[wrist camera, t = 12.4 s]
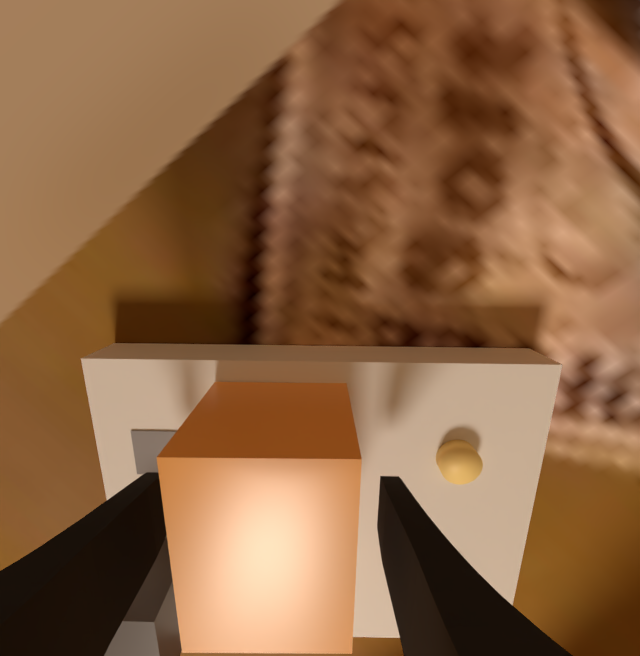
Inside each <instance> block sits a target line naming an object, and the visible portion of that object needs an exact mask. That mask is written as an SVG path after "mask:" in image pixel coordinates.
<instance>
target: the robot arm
mask: <svg viewBox="0 0 640 656" xmlns="http://www.w3.org/2000/svg"><path fill="white" fill-rule="evenodd" d="M377 530H378V538H379V545H380V552H381V559H382V564H383V569H384V573H385V577H386V581H387V586H388V590H389V594H390V598H391V602H392V606H393V611H394V615H395V619H396V623H397V627H398V631H399V636H400V640H401V644H402V648H403V653H404V656H572V655H571V654H570V653H568V652H567V651H566V650H565V649H563V648H562V647H561V646H559V645H558V644H557V643H556V642H555V641H553V640H552V639H551V638H550V637H548V636H547V635H546V634H545V633H544V632H542V631H541V630H540V629H539V628H538V627H537V626H535V625H534V624H533V623H532V622H531V621H530V620H529V619H527V618H526V617H525V616H524V615H523V614H522V613H520V612H519V611H518V610H517V609H516V608H515V607H514V606H512V605H511V604H510V603H509V602H508V601H507V600H506V599H505V598H504V597H502V596H501V595H500V594H499V593H498V592H497V591H496V590H495V589H494V588H493V587H492V586H491V585H490V584H489V583H488V582H487V581H486V580H485V579H484V578H483V577H482V576H481V575H480V574H479V573H478V572H477V571H476V570H475V569H474V568H473V567H472V566H471V565H470V564H469V563H468V562H467V560H466V559H465V558H464V557H463V556H462V555H461V554H460V553H459V552H458V551H457V549H456V548H455V547H454V546H453V545H452V544H451V543H450V541H449V540H448V539H447V538H446V537H445V536H444V534H443V533H442V532H441V531H440V530H439V528H438V527H437V526H436V525H435V523H434V522H433V521H432V520H431V518H430V517H429V516H428V515H427V513H426V512H425V511H424V510H423V508H422V507H421V506H420V504H419V503H418V502H417V500H416V499H415V497H414V496H413V495H412V493H411V492H410V491H409V489H408V488H407V486H406V485H405V483H404V482H403V481H402V479H401V478H400V477H399V476H380V489H379V504H378V519H377ZM166 535H167V534H166V526H165V519H164V511H163V503H162V496H161V488H160V480H159V473H158V472H146V473H145V474H143V475H142V476H140V477H139V478H137V479H136V480H135V481H133V482H132V483H130V484H129V485H128V486H126V487H125V488H123V489H122V490H121V491H119V492H118V493H117V494H115V495H114V496H112V497H111V498H110V499H108V500H107V501H106V502H104V503H103V504H101V505H100V506H99V507H97V508H96V509H94V510H93V511H92V512H90V513H89V514H87V515H86V516H85V517H83V518H82V519H80V520H79V521H78V522H76V523H75V524H73V525H72V526H70V527H69V528H67V529H66V530H64V531H63V532H61V533H60V534H58V535H57V536H55V537H54V538H52V539H51V540H49V541H48V542H46V543H45V544H43V545H42V546H40V547H39V548H37V549H36V550H34V551H33V552H31V553H29V554H28V555H26V556H25V557H23V558H21V559H20V560H18V561H17V562H15V563H13V564H11V565H10V566H8V567H6V568H5V569H3V570H1V571H0V656H104V655H105V653H106V651H107V649H108V647H109V645H110V643H111V641H112V639H113V638H114V636H115V634H116V632H117V630H118V628H119V627H120V625H121V623H122V621H123V619H124V617H125V616H126V614H127V612H128V610H129V608H130V606H131V605H132V603H133V601H134V599H135V597H136V595H137V594H138V592H139V590H140V588H141V586H142V585H143V583H144V581H145V579H146V577H147V575H148V573H149V571H150V570H151V568H152V566H153V564H154V562H155V560H156V558H157V556H158V554H159V552H160V549H161V547H162V545H163V542H164V540H165V537H166Z"/></svg>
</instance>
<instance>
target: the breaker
mask: <svg viewBox="0 0 640 656" xmlns="http://www.w3.org/2000/svg"><path fill="white" fill-rule="evenodd" d="M181 651H182V648H181V641H180V633H179V626H178V618H177V610H176V603H175V595H174V587H173V580H172V572H171V564H170V557H169V549H168V541H167V538H165V540H164V542H163V545H162V547H161V549H160V552H159V554H158V556H157V558H156V560H155V562H154V564H153V566H152V568H151V570H150V571H149V573H148V575H147V577H146V579H145V581H144V583H143V585H142V586H141V588H140V590H139V592H138V594H137V595H136V597H135V599H134V601H133V603H132V605H131V606H130V608H129V610H128V612H127V614H126V616H125V617H124V619H123V621H122V623H121V625H120V627H119V628H118V630H117V632H116V634H115V636H114V638H113V639H112V641H111V643H110V645H109V647H108V649H107V651H106V653H105V655H104V656H180V653H181Z"/></svg>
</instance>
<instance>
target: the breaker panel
mask: <svg viewBox="0 0 640 656" xmlns="http://www.w3.org/2000/svg"><path fill="white" fill-rule="evenodd" d="M81 362H82V367H83V372H84V378H85V383H86V389H87V394H88V400H89V405H90V411H91V416H92V421H93V427H94V432H95V438H96V443H97V449H98V454H99V460H100V465H101V471H102V476H103V481H104V487H105V492H106V498H107V500H108V499H110V498H111V497H112V496H114V495H115V494H117V493H118V492H119V491H121V490H122V489H123V488H125V487H126V486H128V485H129V484H130V483H132V482H133V481H135V480H136V479H137V478H139V477H140V476H142V475H143V474H145V473H146V472H158V465H157V456H158V455H159V454H160V452H161V451H162V450H163V448H164V447H165V446H166V444H167V443H168V442H169V441H170V439H171V438H172V437H173V435H174V434H175V433H176V432H177V430H178V429H179V428H180V426H181V425H182V424H183V422H184V421H185V420H186V419H187V417H188V416H189V415H190V413H191V412H192V411H193V410H194V408H195V407H196V406H197V404H198V403H199V402H200V400H201V399H202V398H203V397H204V395H205V394H206V393H207V391H208V390H209V389H210V387H211V386H212V385H213V384H214V382H278V383H347V388H348V393H349V398H350V403H351V408H352V413H353V418H354V423H355V428H356V433H357V438H358V443H359V448H360V453H361V458H362V464H361V484H360V504H359V524H358V544H357V564H356V584H355V604H354V624H353V637H384V638H400V636H399V631H398V627H397V623H396V619H395V615H394V611H393V606H392V602H391V598H390V594H389V590H388V586H387V581H386V577H385V573H384V569H383V564H382V559H381V552H380V545H379V538H378V530H377V519H378V504H379V489H380V476H399V477H400V478H401V479H402V481H403V482H404V483H405V485H406V486H407V488H408V489H409V491H410V492H411V493H412V495H413V496H414V497H415V499H416V500H417V502H418V503H419V504H420V506H421V507H422V508H423V510H424V511H425V512H426V513H427V515H428V516H429V517H430V518H431V520H432V521H433V522H434V523H435V525H436V526H437V527H438V528H439V530H440V531H441V532H442V533H443V534H444V536H445V537H446V538H447V539H448V540H449V541H450V543H451V544H452V545H453V546H454V547H455V548H456V549H457V551H458V552H459V553H460V554H461V555H462V556H463V557H464V558H465V559H466V560H467V562H468V563H469V564H470V565H471V566H472V567H473V568H474V569H475V570H476V571H477V572H478V573H479V574H480V575H481V576H482V577H483V578H484V579H485V580H486V581H487V582H488V583H489V584H490V585H491V586H492V587H493V588H494V589H495V590H496V591H497V592H498V593H499V594H500V595H501V596H502V597H504V598H505V599H506V600H507V601H508V602H509V603H510V604H511V605H513V600H514V595H515V591H516V586H517V581H518V576H519V571H520V567H521V562H522V557H523V552H524V547H525V543H526V538H527V533H528V528H529V523H530V518H531V514H532V509H533V504H534V499H535V494H536V490H537V485H538V480H539V475H540V470H541V465H542V461H543V456H544V451H545V446H546V441H547V437H548V432H549V427H550V422H551V417H552V413H553V408H554V403H555V398H556V393H557V388H558V384H559V379H560V374H561V369H562V364H560V363H558V362H556V361H554V360H552V359H550V358H548V357H546V356H544V355H542V354H540V353H538V352H536V351H534V350H532V349H530V348H470V347H390V346H310V345H231V344H151V343H114V344H111V345H109V346H107V347H105V348H103V349H101V350H98V351H96V352H94V353H92V354H90V355H88V356H85V357H83V358H81ZM165 538H167V535H166V537H165Z"/></svg>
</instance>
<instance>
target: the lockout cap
mask: <svg viewBox="0 0 640 656" xmlns="http://www.w3.org/2000/svg"><path fill="white" fill-rule="evenodd" d="M361 464H362V458H361V453H360V448H359V443H358V438H357V433H356V428H355V423H354V418H353V413H352V408H351V403H350V398H349V393H348V388H347V383H278V382H214V384H213V385H212V386H211V387H210V389H209V390H208V391H207V393H206V394H205V395H204V397H203V398H202V399H201V400H200V402H199V403H198V404H197V406H196V407H195V408H194V410H193V411H192V412H191V413H190V415H189V416H188V417H187V419H186V420H185V421H184V422H183V424H182V425H181V426H180V428H179V429H178V430H177V432H176V433H175V434H174V435H173V437H172V438H171V439H170V441H169V442H168V443H167V444H166V446H165V447H164V448H163V450H162V451H161V452H160V454H159V455H158V456H157V465H158V473H159V480H160V488H161V496H162V503H163V511H164V519H165V526H166V534H167V541H168V549H169V557H170V564H171V572H172V580H173V587H174V595H175V603H176V610H177V618H178V626H179V633H180V641H181V648H182V653H323V654H352V644H353V624H354V604H355V584H356V564H357V544H358V524H359V504H360V484H361Z"/></svg>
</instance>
